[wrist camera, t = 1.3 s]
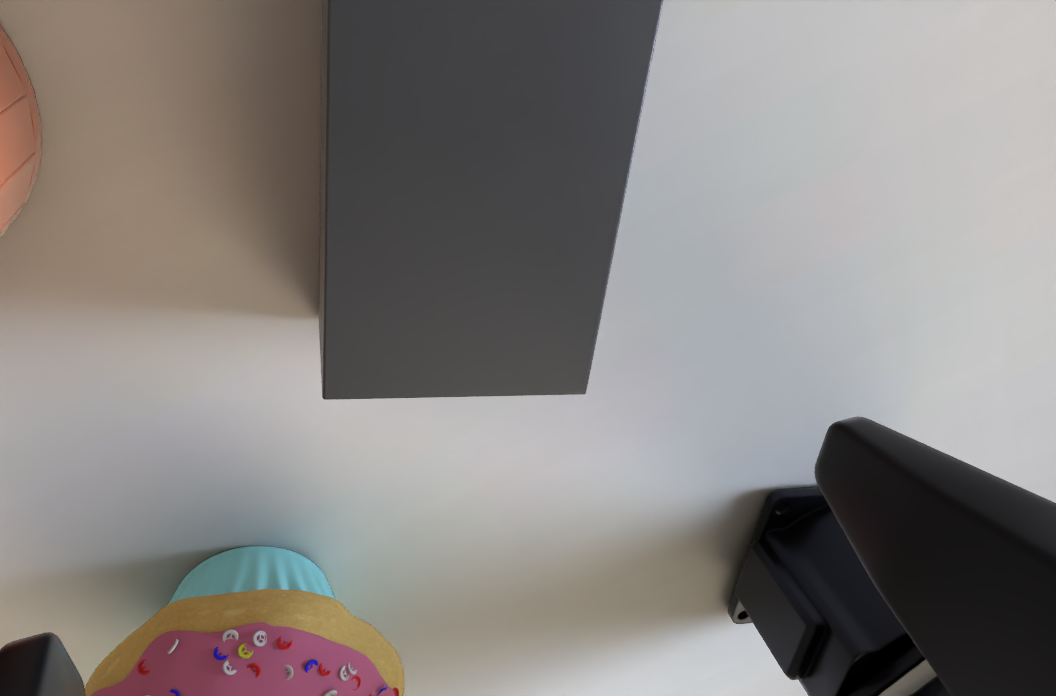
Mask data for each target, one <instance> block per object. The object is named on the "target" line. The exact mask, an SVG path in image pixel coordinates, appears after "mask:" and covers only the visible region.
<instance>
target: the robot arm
mask: <svg viewBox="0 0 1056 696" xmlns="http://www.w3.org/2000/svg"><path fill="white" fill-rule="evenodd" d="M815 478H816V481H817V484H818V486H819V487H818V488H801V489H785V490H778V491H775V492H773V493H772V494H770V495H769V496H768V498H767V499H766V501H765V504H764V507H763V510H762V513H761V515H760V518H759V521H758V524H757V527H756V530H755V533H754V535H753V538H752V541H751V544H750V547H749V550H748V553H747V555H746V558H745V561H744V564H743V567H742V570H741V572H740V575H739V578H738V581H737V584H736V587H735V590H734V592H733V595H732V598H731V601H730V604H729V607H728V614H729V616H730V617H731V619H732V621H733V622H734V623H736V624H744V623H753V624H754V625H755V627H756V628H757V630H758V632H759V633H760V635H761V636H762V638H763V640H764V641H765V643H766V645H767V646H768V648H769V649H770V651H771V653H772V654H773V656H774V657H775V659H776V661H777V662H778V664H779V665H780V667H781V669H782V670H783V672H784V673H785V674H786V676H787V677H788V678H789V679H791V680H796V679H798V680H799V681H800V683H801V684H802V686H803V687H804V689H805V691H806V692H807V694H808V695H809V696H1056V503H1054V502H1052V501H1050V500H1047V499H1045V498H1043V497H1041V496H1038V495H1036V494H1034V493H1032V492H1030V491H1027V490H1025V489H1023V488H1021V487H1018V486H1016V485H1014V484H1012V483H1010V482H1007V481H1005V480H1003V479H1001V478H998V477H996V476H994V475H992V474H990V473H987V472H985V471H983V470H981V469H978V468H976V467H974V466H972V465H970V464H967V463H965V462H963V461H961V460H958V459H956V458H954V457H952V456H950V455H947V454H945V453H943V452H941V451H938V450H936V449H934V448H932V447H930V446H927V445H925V444H923V443H921V442H918V441H916V440H914V439H912V438H909V437H907V436H905V435H903V434H901V433H898V432H896V431H894V430H892V429H889V428H887V427H885V426H883V425H881V424H878V423H876V422H874V421H872V420H869V419H867V418H864V417H853V418H849V419H846V420H842V421H838V422H835V423H833V424H832V425H831V426H830V427H829V429H828V430H827V433H826V436H825V439H824V442H823V444H822V447H821V450H820V453H819V456H818V459H817V461H816V464H815ZM0 696H86V694H85V688H84V684H83V681H82V678H81V676H80V674H79V672H78V670H77V669H76V667H75V665H74V663H73V662H72V660H71V658H70V656H69V654H68V653H67V651H66V649H65V647H64V646H63V644H62V642H61V640H60V639H59V638H58V636H57V635H55V634H54V633H51V632H47V633H42V634H38V635H34V636H31V637H27V638H23V639H19V640H15V641H12V642H10V643H8V644H6V645H5V646H4V647H2V648H1V649H0Z"/></svg>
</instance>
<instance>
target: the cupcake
mask: <svg viewBox="0 0 1056 696" xmlns="http://www.w3.org/2000/svg"><path fill="white" fill-rule="evenodd" d="M85 694H86V696H403V694H404V671H403V666H402V663H401V661H400V658H399V656H398V653H397V651H396V650H395V649H394V647H393V646H392V645H391V644H390V643H389V642H388V641H387V640H386V639H385V638H384V637H383V636H382V635H381V634H380V633H379V632H378V631H377V630H376V629H375V628H374V627H373V626H371V625H370V624H368V623H366V622H364V621H362V620H359V619H357V618H356V617H354V616H353V615H352V614H350V613H349V611H348V610H347V609H346V608H345V607H344V606H343V605H342V604H341V603H340V602H339V601H338V600H336V598H335V596H334V594H333V592H332V589H331V587H330V585H329V583H328V581H327V579H326V577H325V575H324V574H323V572H322V571H321V570H320V569H319V568H318V567H317V566H316V565H315V564H314V563H313V562H312V561H310V560H309V559H307V558H306V557H304V556H302V555H300V554H298V553H296V552H293V551H290V550H287V549H282V548H277V547H270V546H250V547H242V548H236V549H232V550H228V551H225V552H222V553H219V554H217V555H215V556H212V557H210V558H209V559H207V560H205V561H203V562H202V563H200V564H199V565H198V566H196V567H195V568H194V569H193V570H191V571H190V572H189V573H188V574H187V575H186V577H185V578H184V579H183V580H182V582H181V583H180V585H179V586H178V588H177V590H176V592H175V593H174V595H173V597H172V598H171V600H170V601H169V603H168V605H167V606H165V607H164V608H162V609H161V610H160V611H159V612H158V613H156V614H155V615H154V616H153V617H152V618H151V619H150V620H149V621H147V622H146V623H145V624H144V625H143V626H141V627H140V628H139V629H137V630H136V631H135V632H133V633H132V634H131V635H130V636H128V637H127V638H126V639H125V640H124V641H123V642H122V643H121V644H119V645H118V646H117V647H116V648H115V649H114V650H113V651H112V652H111V653H110V654H109V655H108V656H107V657H106V658H105V659H104V660H103V661H102V662H101V663H100V664H99V666H98V667H97V668H96V670H95V671H94V673H93V674H92V676H91V677H90V679H89V681H88V683H87V685H86V687H85Z"/></svg>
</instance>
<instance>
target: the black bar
mask: <svg viewBox="0 0 1056 696" xmlns="http://www.w3.org/2000/svg"><path fill="white" fill-rule="evenodd" d="M662 5H663V0H322V43H321V146H320V250H319V333H320V354H321V375H322V396H323V399H372V398H420V397H469V396H518V395H566V394H585V393H586V389H587V384H588V379H589V374H590V369H591V364H592V359H593V354H594V349H595V344H596V339H597V334H598V329H599V324H600V319H601V313H602V308H603V303H604V298H605V293H606V288H607V283H608V278H609V273H610V268H611V263H612V258H613V253H614V248H615V243H616V238H617V233H618V227H619V222H620V217H621V212H622V207H623V202H624V197H625V192H626V187H627V182H628V177H629V172H630V167H631V162H632V157H633V152H634V147H635V141H636V136H637V131H638V126H639V121H640V116H641V111H642V106H643V101H644V96H645V91H646V86H647V81H648V76H649V71H650V66H651V61H652V55H653V50H654V45H655V40H656V35H657V30H658V25H659V20H660V15H661V10H662Z"/></svg>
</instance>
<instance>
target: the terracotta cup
mask: <svg viewBox="0 0 1056 696" xmlns="http://www.w3.org/2000/svg"><path fill="white" fill-rule="evenodd" d="M41 144H42V136H41V124H40V115H39V110H38V106H37V102H36V97H35V93H34V90H33V88H32V85H31V82H30V80H29V77H28V74H27V71H26V69H25V67H24V65H23V63H22V61H21V59H20V57H19V55H18V53H17V51H16V49H15V47H14V46H13V44H12V42H11V41H10V39H9V38H8V36H7V35H6V33H5V32H4V30H3V29H2V27H1V26H0V238H1V237H2V235H3V234H4V232H5V231H6V230H7V228H8V227H9V225H10V224H11V223H12V222H13V221H14V220H15V219H16V217H17V216H18V214H19V213H20V211H21V210H22V208H23V207H24V205H25V203H26V202H27V200H28V198H29V196H30V193H31V191H32V189H33V186H34V184H35V182H36V177H37V173H38V169H39V165H40V158H41Z"/></svg>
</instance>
